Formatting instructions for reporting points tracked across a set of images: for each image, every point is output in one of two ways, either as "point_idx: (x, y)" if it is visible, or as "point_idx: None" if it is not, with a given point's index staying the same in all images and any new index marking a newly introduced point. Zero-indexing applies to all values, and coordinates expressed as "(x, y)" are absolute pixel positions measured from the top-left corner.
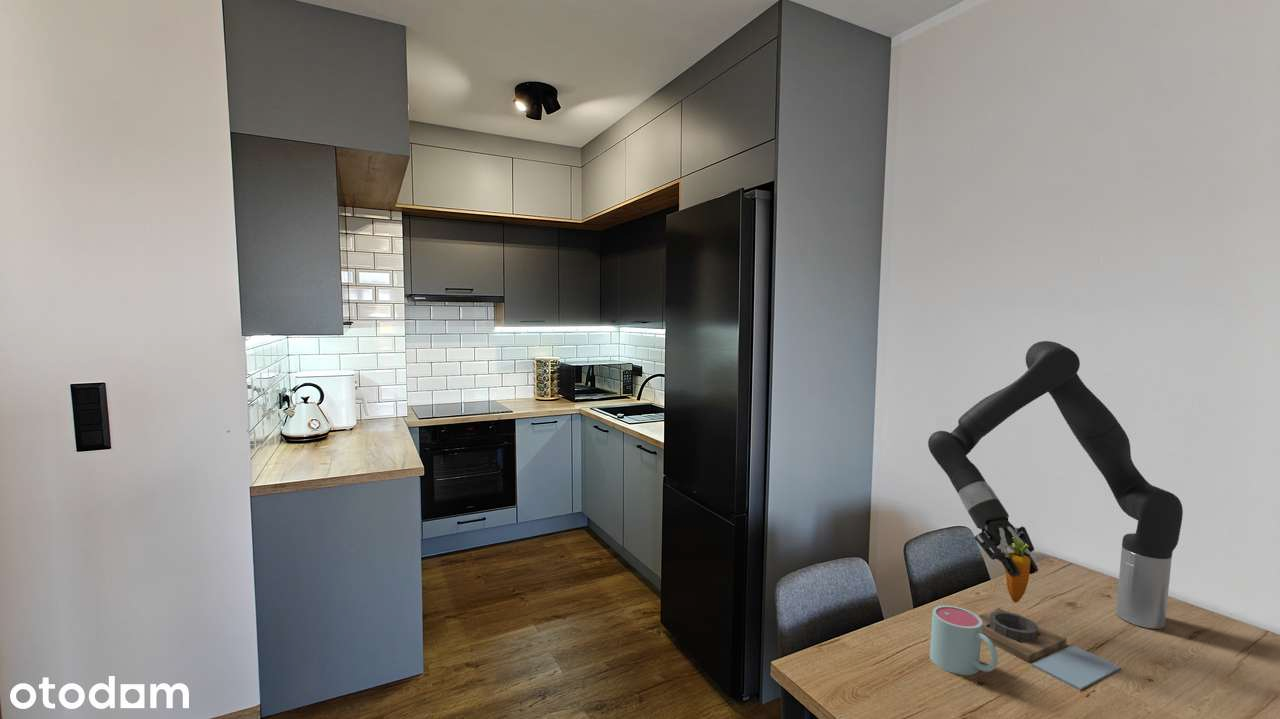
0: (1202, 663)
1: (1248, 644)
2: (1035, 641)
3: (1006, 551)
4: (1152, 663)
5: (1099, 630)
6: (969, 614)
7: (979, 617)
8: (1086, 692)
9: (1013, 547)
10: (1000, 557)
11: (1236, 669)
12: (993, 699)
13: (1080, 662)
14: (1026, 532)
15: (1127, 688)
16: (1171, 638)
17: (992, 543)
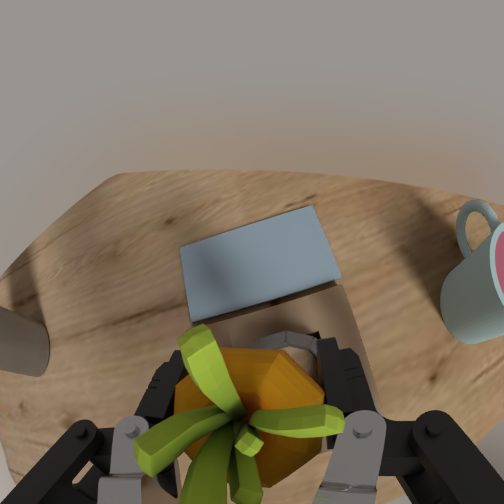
0: (74, 247)
1: (15, 271)
2: (276, 331)
3: (349, 454)
4: (121, 255)
5: (97, 350)
6: (500, 283)
7: (489, 260)
8: (305, 202)
9: (247, 478)
10: (403, 426)
11: (62, 233)
12: (457, 209)
13: (236, 267)
14: (14, 494)
15: (226, 205)
16: (47, 301)
17: (467, 494)
